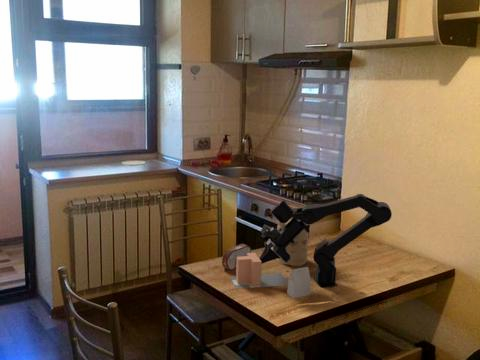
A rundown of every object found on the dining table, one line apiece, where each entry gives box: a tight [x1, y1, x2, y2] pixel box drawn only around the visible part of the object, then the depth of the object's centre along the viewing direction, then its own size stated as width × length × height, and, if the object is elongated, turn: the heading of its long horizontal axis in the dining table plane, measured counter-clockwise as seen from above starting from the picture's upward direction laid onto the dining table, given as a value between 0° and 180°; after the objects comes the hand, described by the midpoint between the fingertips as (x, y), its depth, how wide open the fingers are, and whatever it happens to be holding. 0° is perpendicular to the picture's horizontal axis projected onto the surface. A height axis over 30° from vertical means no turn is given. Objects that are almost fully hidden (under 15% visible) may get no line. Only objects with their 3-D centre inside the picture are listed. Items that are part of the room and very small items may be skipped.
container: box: [275, 218, 310, 267], centre depth 205 cm, size 13×13×18 cm
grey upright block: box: [286, 266, 312, 299], centre depth 174 cm, size 4×7×10 cm, turn 119°
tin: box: [221, 243, 252, 271], centre depth 199 cm, size 15×3×8 cm, turn 141°
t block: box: [235, 252, 263, 286], centre depth 184 cm, size 8×9×9 cm
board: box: [229, 272, 288, 290], centre depth 186 cm, size 20×11×1 cm, turn 104°
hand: (258, 263), depth 184 cm, fingers closed
